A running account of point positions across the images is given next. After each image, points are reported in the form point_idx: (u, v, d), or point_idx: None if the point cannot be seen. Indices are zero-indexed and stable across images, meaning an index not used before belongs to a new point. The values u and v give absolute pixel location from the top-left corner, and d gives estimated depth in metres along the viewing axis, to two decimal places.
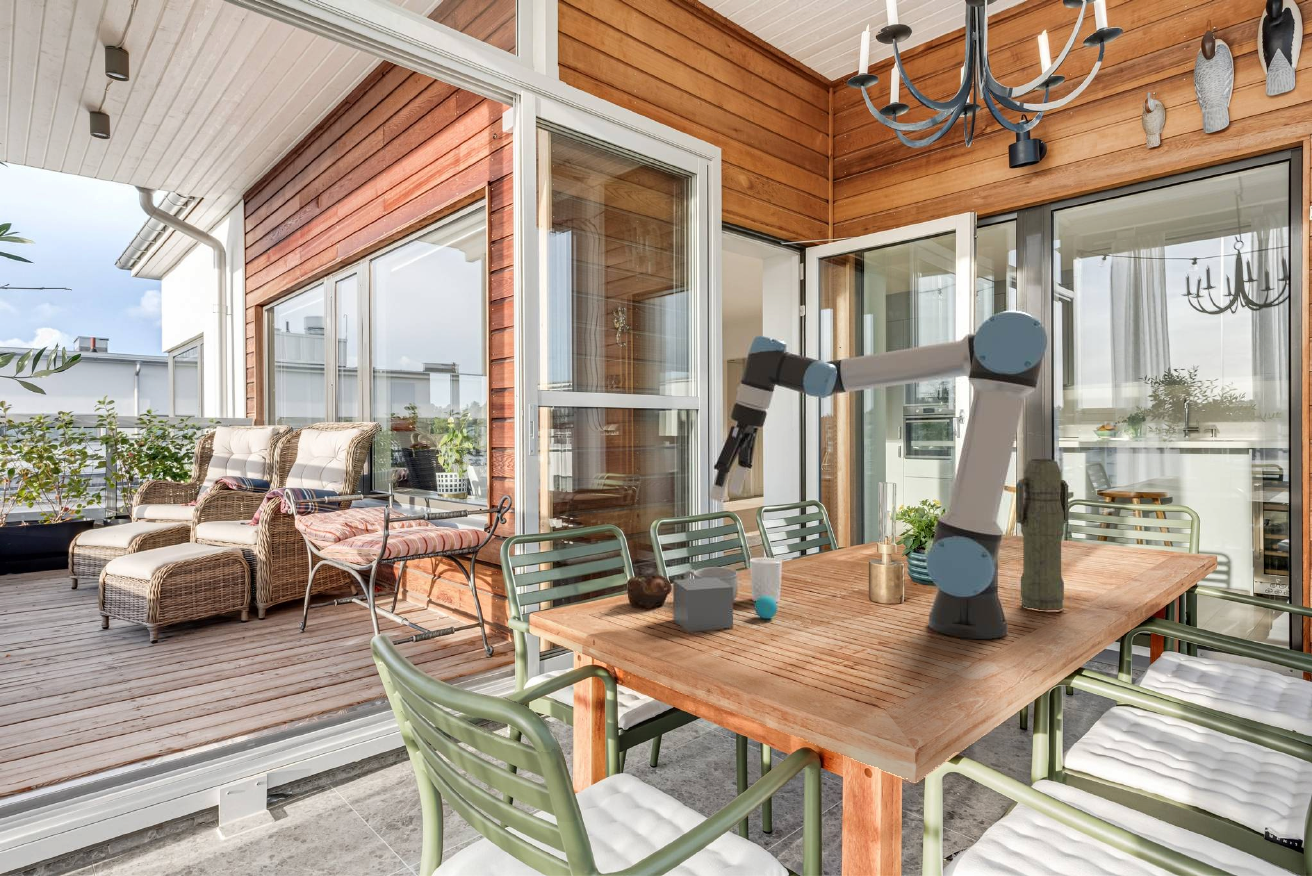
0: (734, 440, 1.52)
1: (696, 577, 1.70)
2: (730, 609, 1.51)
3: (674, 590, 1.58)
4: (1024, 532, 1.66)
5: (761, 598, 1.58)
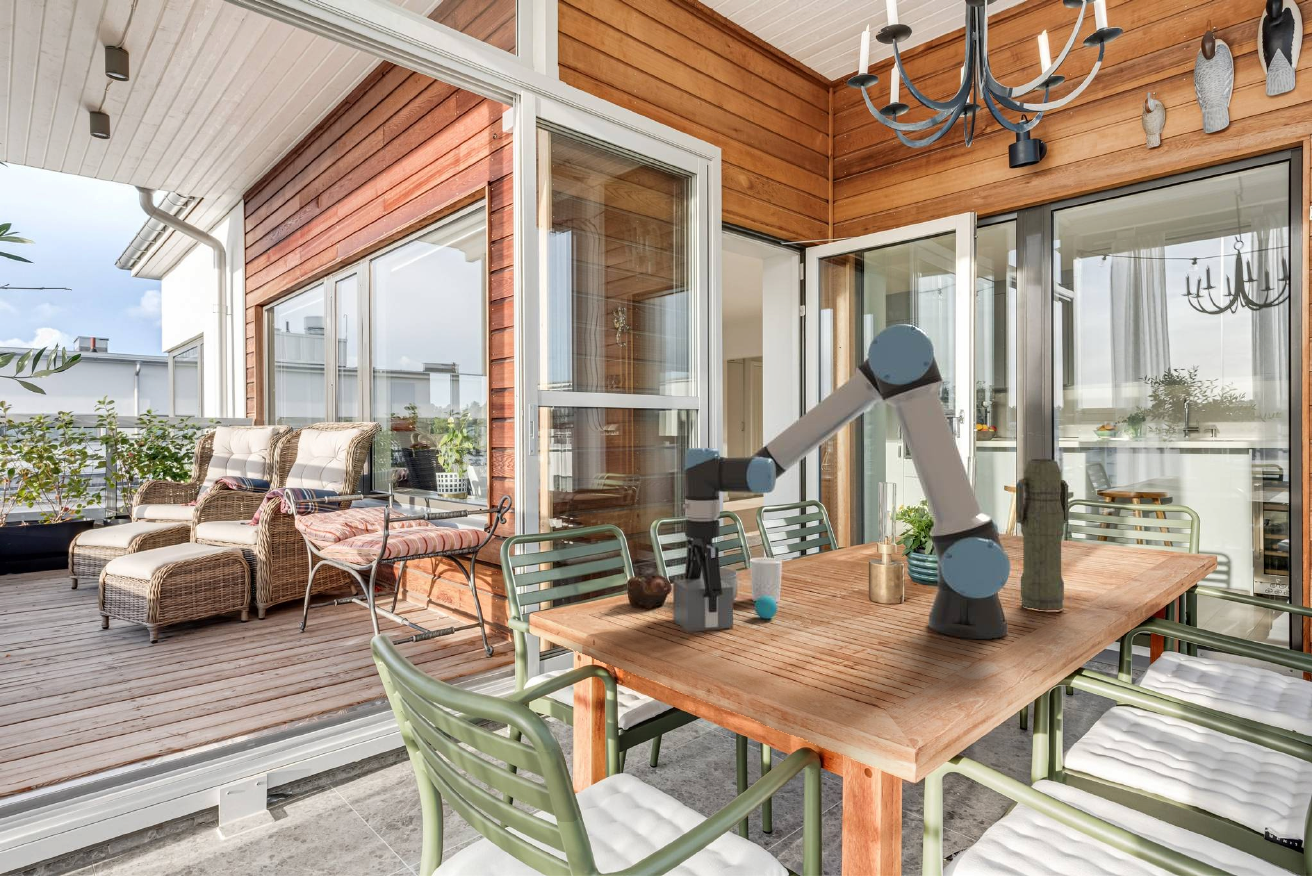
0: (715, 561, 1.48)
1: None
2: (730, 609, 1.51)
3: (674, 590, 1.58)
4: (1024, 532, 1.66)
5: (761, 598, 1.58)
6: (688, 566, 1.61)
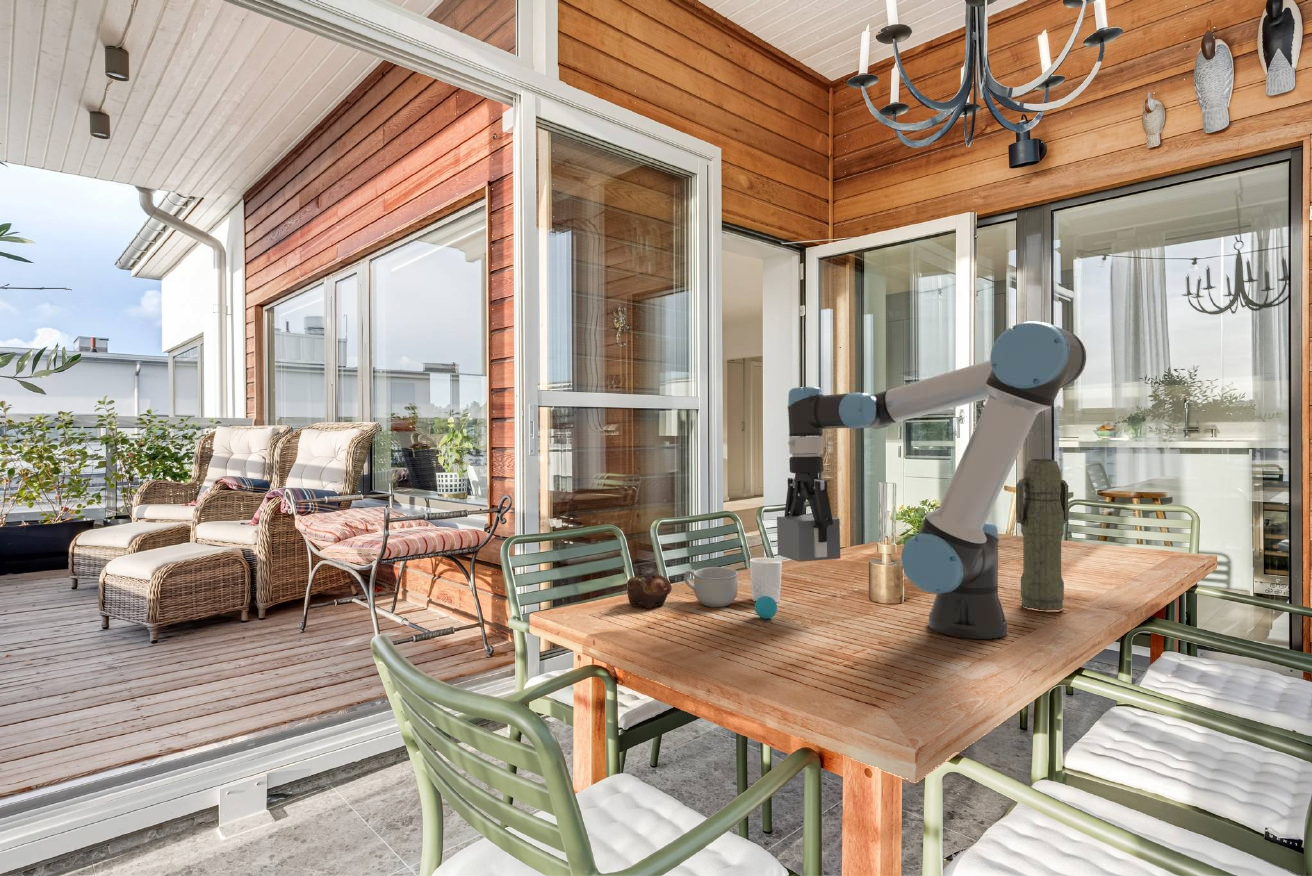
0: (824, 493, 1.54)
1: (696, 577, 1.70)
2: (837, 540, 1.57)
3: (778, 526, 1.63)
4: (1024, 532, 1.66)
5: (761, 598, 1.58)
6: (789, 504, 1.67)
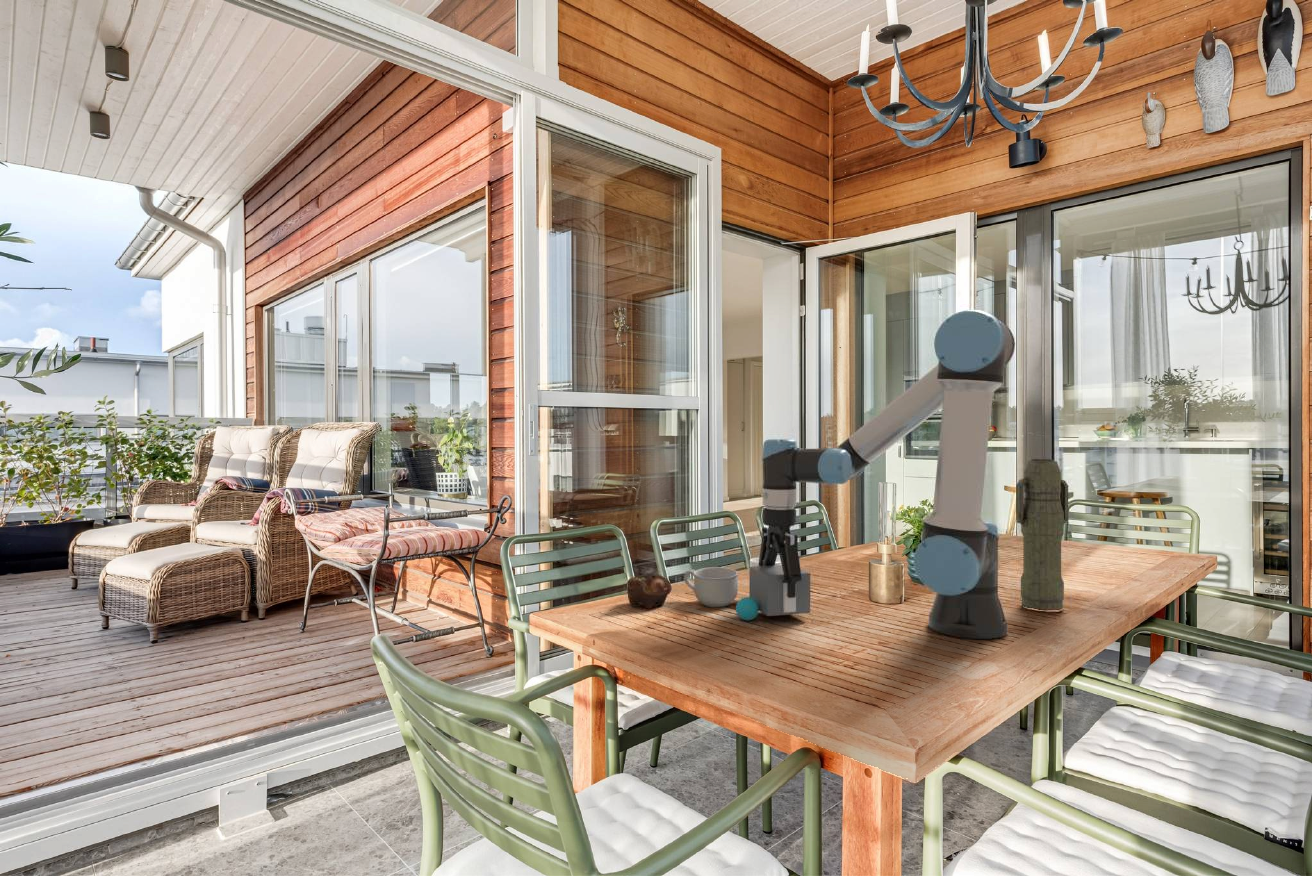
0: (794, 548, 1.53)
1: (696, 577, 1.70)
2: (807, 594, 1.56)
3: (750, 576, 1.63)
4: (1024, 532, 1.66)
5: (739, 616, 1.57)
6: (762, 553, 1.66)
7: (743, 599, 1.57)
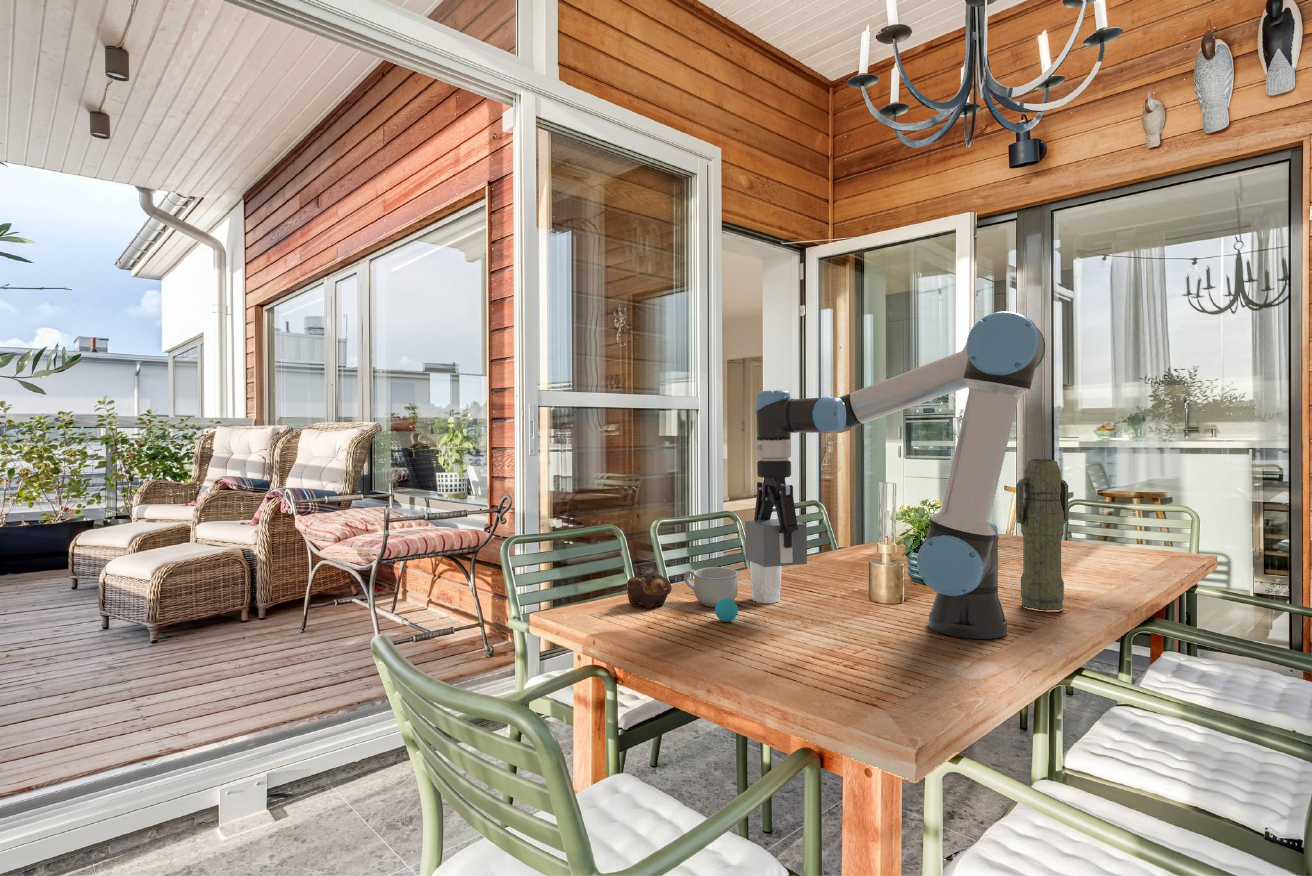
0: (790, 498, 1.53)
1: (696, 577, 1.70)
2: (804, 545, 1.56)
3: (746, 530, 1.62)
4: (1024, 532, 1.66)
5: None
6: (758, 508, 1.65)
7: (720, 619, 1.56)
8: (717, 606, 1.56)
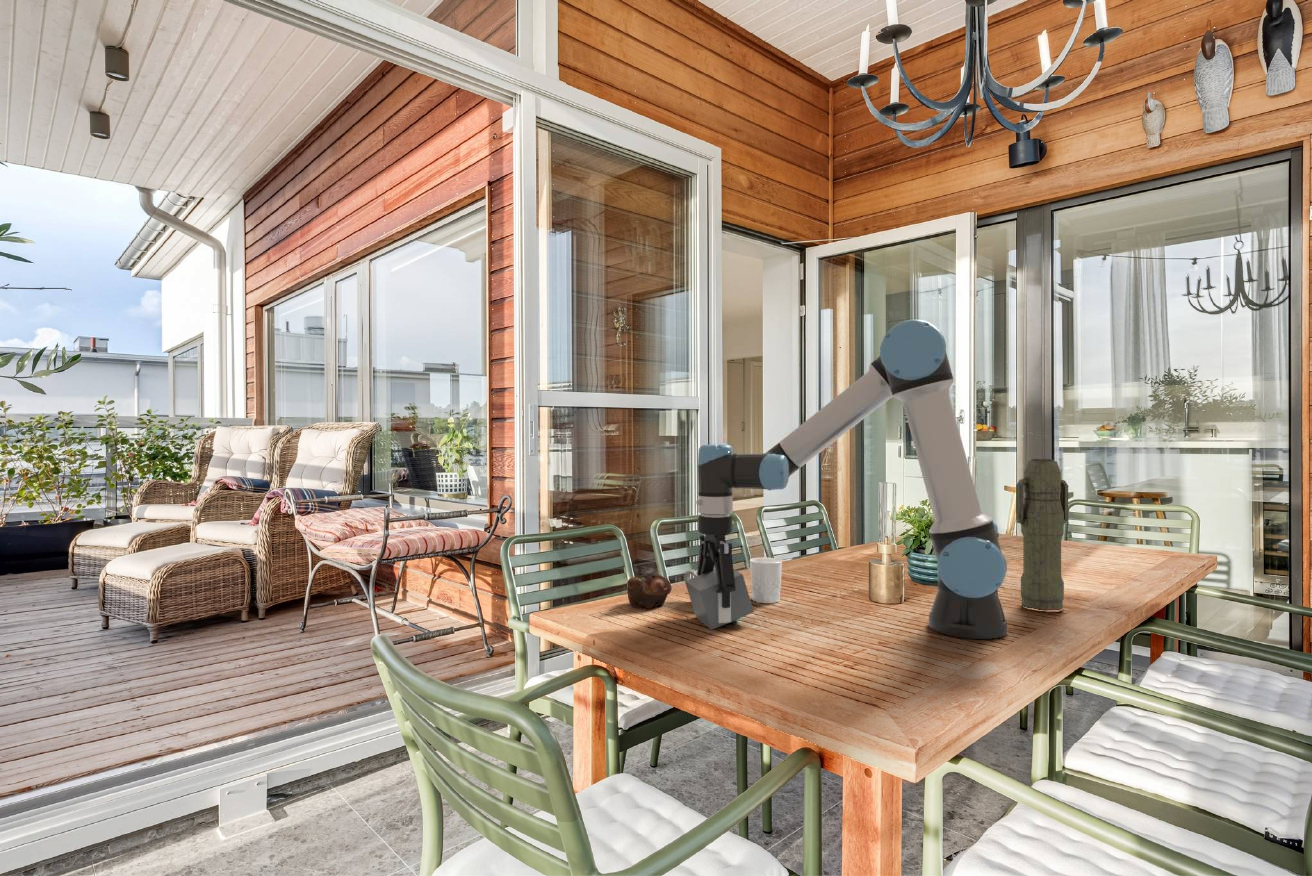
0: (728, 557, 1.49)
1: None
2: (746, 595, 1.52)
3: (688, 590, 1.59)
4: (1024, 532, 1.66)
5: None
6: (700, 562, 1.62)
7: None
8: None
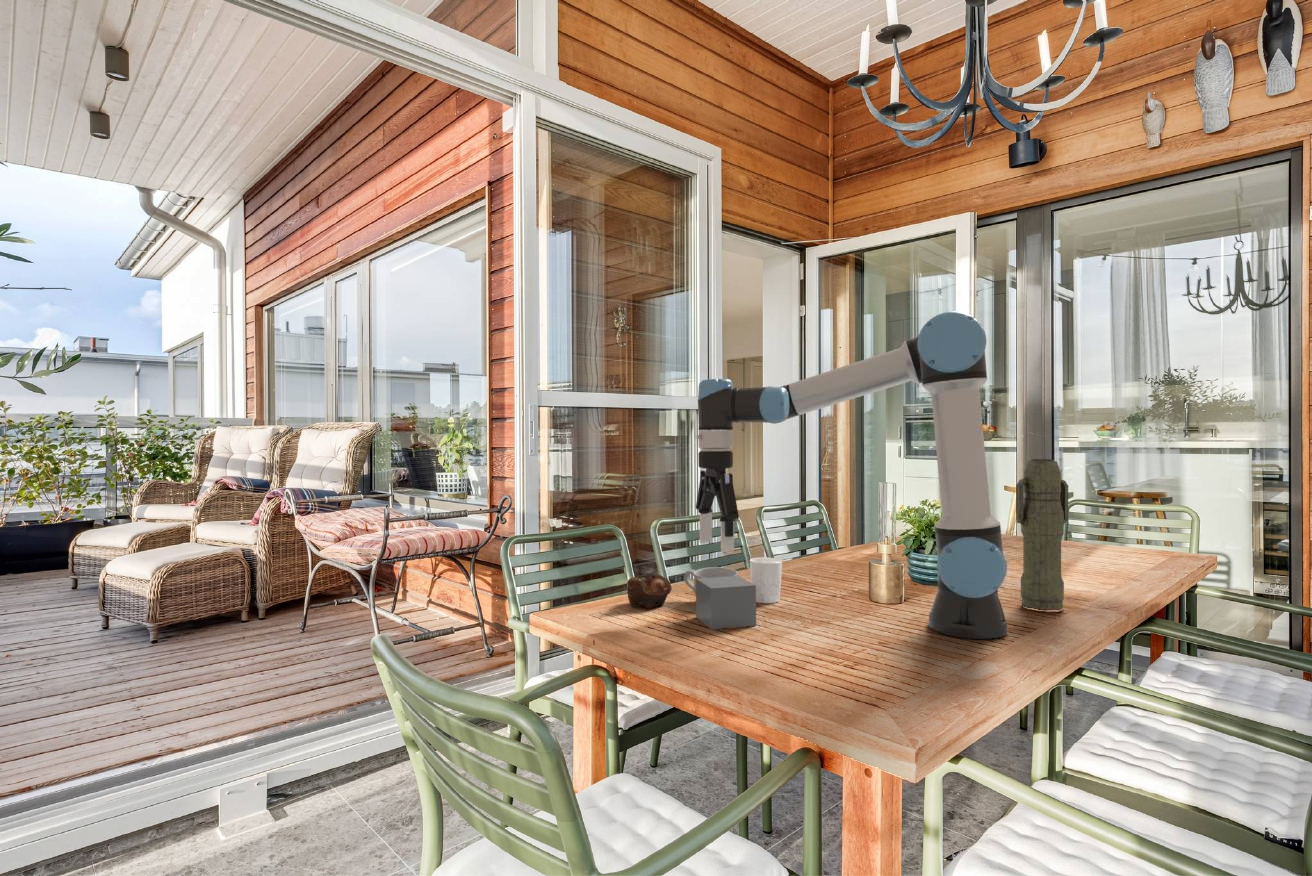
0: (730, 486, 1.48)
1: (696, 577, 1.70)
2: (753, 607, 1.53)
3: (697, 588, 1.59)
4: (1024, 532, 1.66)
5: None
6: (700, 497, 1.62)
7: None
8: None
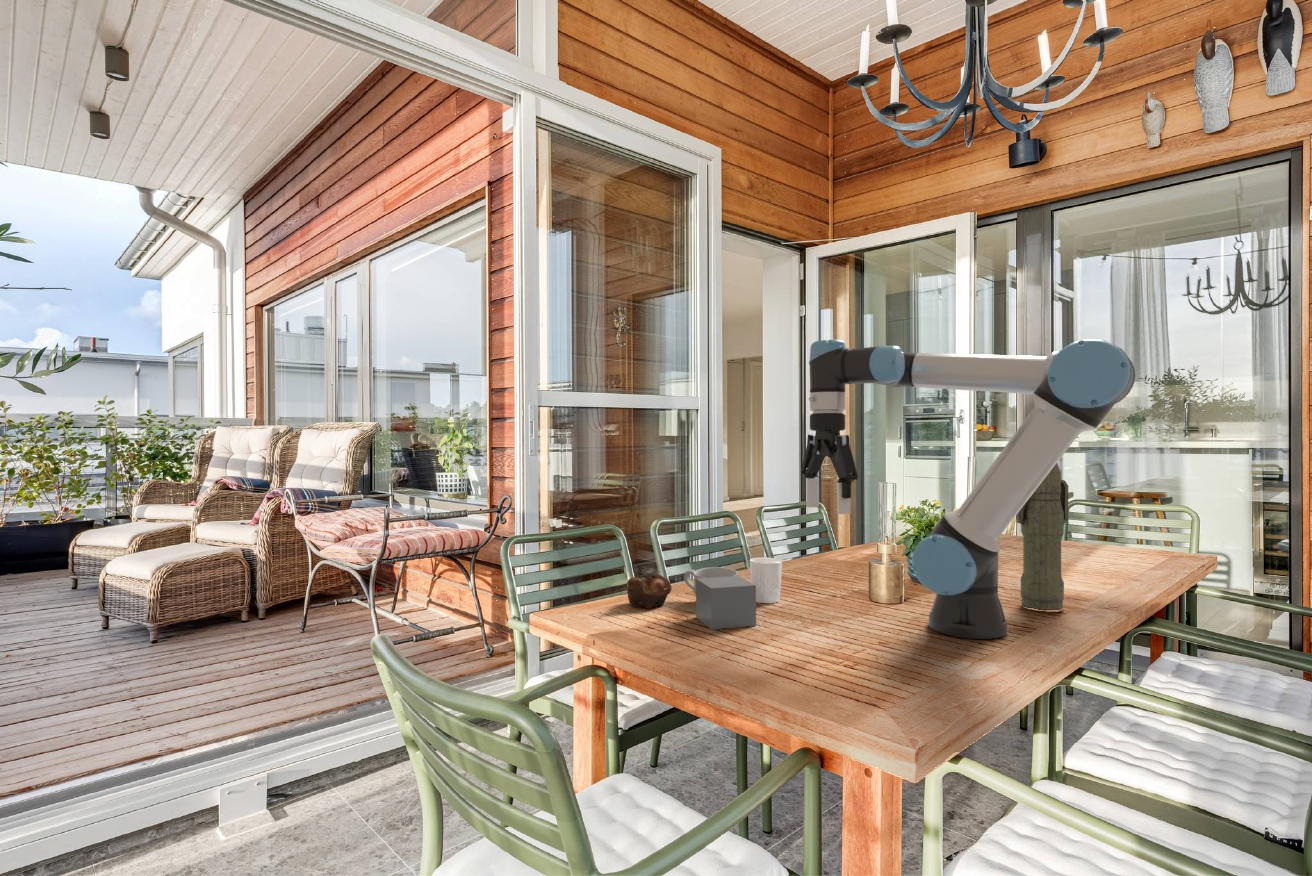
0: (847, 448, 1.47)
1: (696, 577, 1.70)
2: (753, 607, 1.53)
3: (697, 588, 1.59)
4: (1024, 532, 1.66)
5: None
6: (806, 461, 1.61)
7: None
8: None
